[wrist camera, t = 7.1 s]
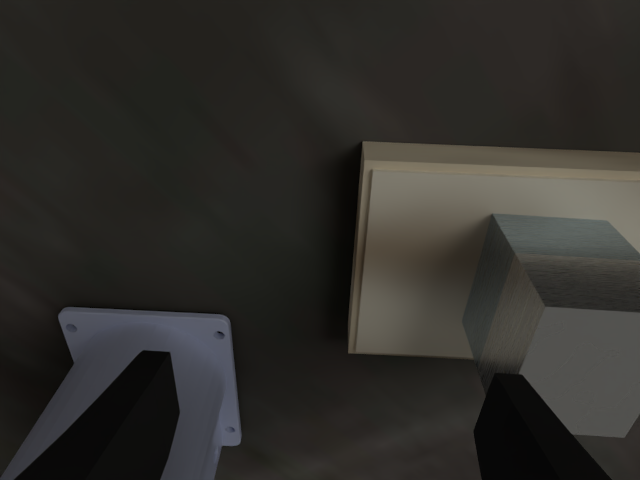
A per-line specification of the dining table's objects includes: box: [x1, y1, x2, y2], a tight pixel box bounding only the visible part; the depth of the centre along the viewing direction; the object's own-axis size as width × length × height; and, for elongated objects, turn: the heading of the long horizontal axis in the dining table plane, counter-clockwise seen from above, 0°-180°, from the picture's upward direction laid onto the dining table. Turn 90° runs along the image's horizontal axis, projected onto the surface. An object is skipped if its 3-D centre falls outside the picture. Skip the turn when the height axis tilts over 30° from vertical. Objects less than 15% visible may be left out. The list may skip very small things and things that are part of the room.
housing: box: [462, 213, 640, 438], centre depth 15 cm, size 5×4×5 cm
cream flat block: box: [348, 141, 640, 359], centre depth 18 cm, size 9×13×2 cm
